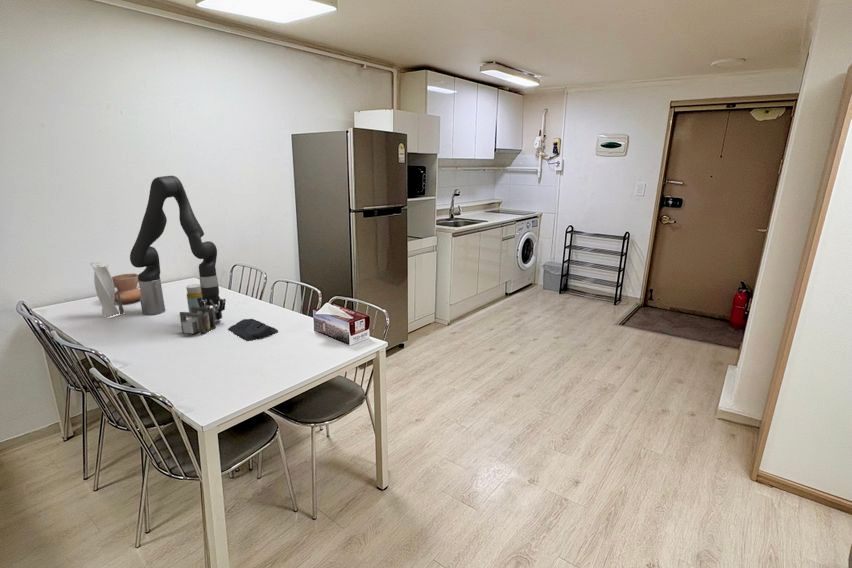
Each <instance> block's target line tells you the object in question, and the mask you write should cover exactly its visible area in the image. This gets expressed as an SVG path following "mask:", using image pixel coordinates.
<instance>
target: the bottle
mask: <svg viewBox="0 0 852 568" xmlns="http://www.w3.org/2000/svg"><path fill="white" fill-rule="evenodd" d="M199 297H202V294H201V287H200V283H199V284H198V283H194V284H193V283H192V284H188V285H186V300H187V306H188V307H187V308H188V312H190V313H191V307H199V304H198V301H197V298H199ZM202 307H203V306H202ZM197 313H202V312H201V311H197Z"/></svg>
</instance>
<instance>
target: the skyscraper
mask: <svg viewBox="0 0 852 568" xmlns="http://www.w3.org/2000/svg"><path fill="white" fill-rule="evenodd" d="M89 264H90V266H91V267H92V269H93V273H94V274H93V275H94V276H93V277H94V278H93V279H94V280H93V281H94V288H95V292H96V295H97V298H98V301H99V302H100V305H101V307H102V308H101V316H106V317H105V318H107V317H110V316H113V315H116V314H119V312H120V314H123V313H125V311H124V306H123V303H122V301H121V298H120V295H119V293H118V302H117V303H118V308H117V307H116V304H115V301H114V300H115V293H116V292H118V289H117V290H116V289H115V287H114V282H113V279H112V277H113V276H112V274H111V272H110V271H109V269H108V268H109V263H107V262H98V261H97V262H96V261H94V262H90V263H89ZM93 264H94V265H93ZM118 310H119V311H118ZM123 315H124V314H123Z"/></svg>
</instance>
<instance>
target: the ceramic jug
mask: <svg viewBox="0 0 852 568" xmlns="http://www.w3.org/2000/svg"><path fill="white" fill-rule="evenodd" d="M138 275H139V273H138V274H137V273H135V272H134V273H133V272H132V273H122V274H117V275H114V276H111V277H112V279H113V282H114V287H115V288H116V289H117V290H118V292H117V291H115V300H114V303H115V302H116V303H118V293H119V295H120V298H121V301H122V304H130V303H135V302H138V301H140V295H141V292H140V288H137V286H138V285H139V281H138Z"/></svg>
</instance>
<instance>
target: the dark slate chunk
mask: <svg viewBox="0 0 852 568" xmlns="http://www.w3.org/2000/svg"><path fill="white" fill-rule="evenodd" d="M227 331H228V332H230V331H231V333H232V332H233V333H232V334H233V335H235V336H236V335H237V337H238V336H239V338H240V339H242V340H243V341H245V340H246V341H245V342H253V340H254V341H257V340H261V339H264V338H268V337H270V336H273V335H275V334H276V333H279V330H278V329H277V328H275V327H272V326H271V325H267V324H266V323H264V322H261V321H259V320H256V319H254V318H244V319H241V320H239V321H238V322H236V323H235V324H232V325H230V327H228V328H227ZM256 339H257V340H256Z"/></svg>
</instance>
